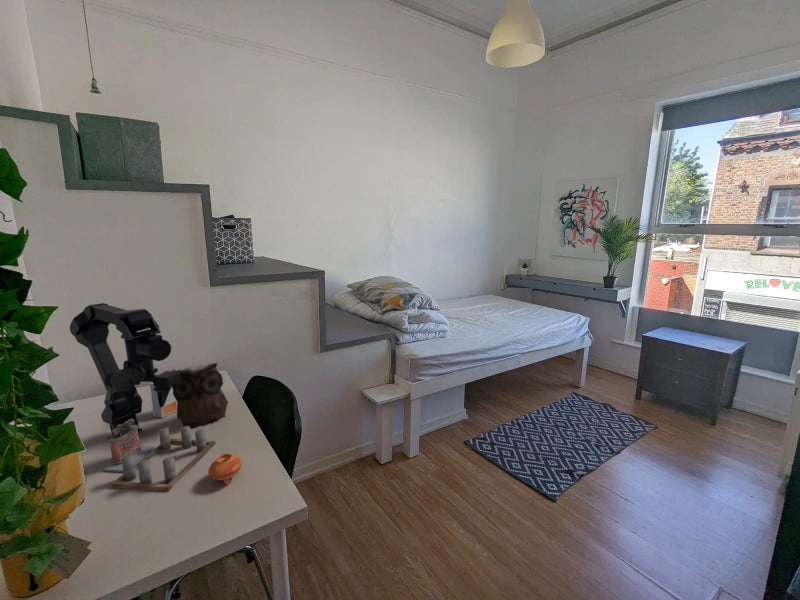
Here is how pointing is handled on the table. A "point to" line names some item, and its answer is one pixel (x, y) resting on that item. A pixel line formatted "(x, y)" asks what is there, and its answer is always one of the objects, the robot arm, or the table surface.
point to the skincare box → (168, 407)
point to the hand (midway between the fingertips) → (146, 406)
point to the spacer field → (168, 463)
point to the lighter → (124, 441)
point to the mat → (137, 457)
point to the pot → (225, 467)
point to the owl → (199, 395)
